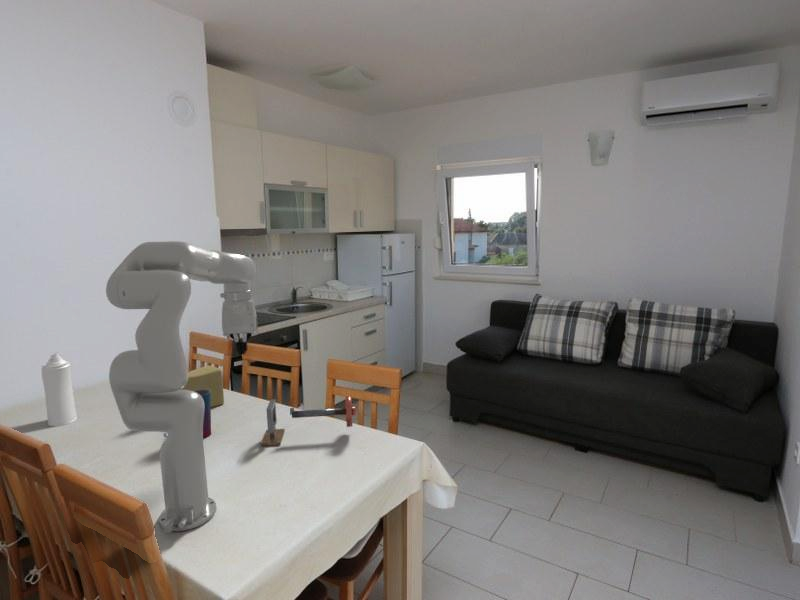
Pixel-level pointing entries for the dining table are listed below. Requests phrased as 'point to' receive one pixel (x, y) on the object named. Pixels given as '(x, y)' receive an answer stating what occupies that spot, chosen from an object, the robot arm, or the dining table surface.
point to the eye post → (272, 427)
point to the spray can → (58, 391)
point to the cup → (206, 411)
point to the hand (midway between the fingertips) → (242, 353)
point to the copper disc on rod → (328, 412)
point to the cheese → (207, 383)
